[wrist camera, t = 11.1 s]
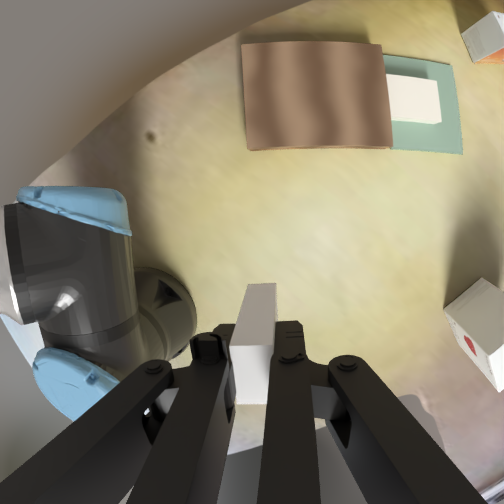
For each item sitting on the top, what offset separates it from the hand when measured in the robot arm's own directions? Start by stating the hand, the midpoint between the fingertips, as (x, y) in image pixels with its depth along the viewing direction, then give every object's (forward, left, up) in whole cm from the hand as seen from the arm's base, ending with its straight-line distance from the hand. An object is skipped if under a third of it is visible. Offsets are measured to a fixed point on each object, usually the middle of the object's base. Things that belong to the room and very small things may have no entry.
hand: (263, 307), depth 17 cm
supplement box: (+32, -15, -26) cm, 44 cm away
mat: (+22, +17, -26) cm, 38 cm away
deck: (+6, +17, -26) cm, 32 cm away
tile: (+19, +18, -26) cm, 37 cm away
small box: (+36, +29, -26) cm, 54 cm away
